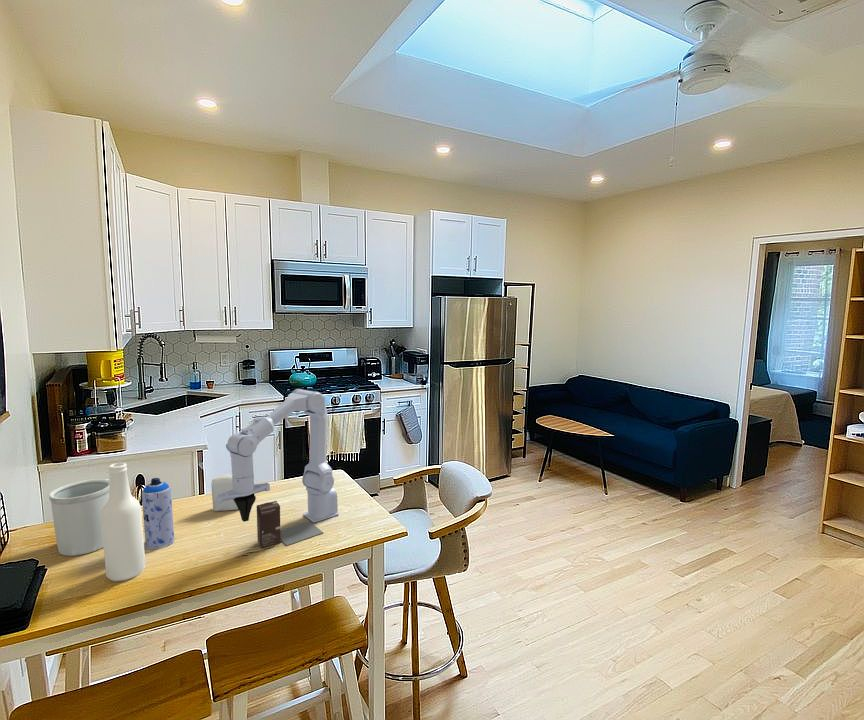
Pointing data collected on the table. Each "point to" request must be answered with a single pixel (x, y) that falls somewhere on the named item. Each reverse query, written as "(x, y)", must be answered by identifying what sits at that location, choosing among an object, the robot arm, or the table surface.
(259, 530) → the box
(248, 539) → the table surface
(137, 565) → the alcohol
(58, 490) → the utensil holder
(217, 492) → the photo printer
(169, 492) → the aerosol can
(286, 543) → the mat
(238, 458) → the robot arm
